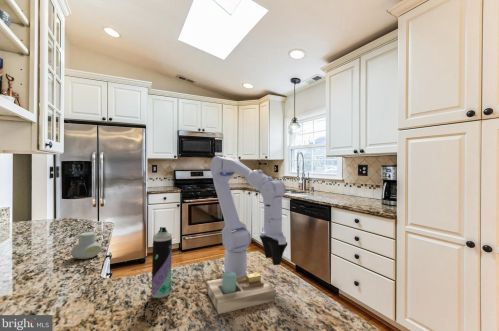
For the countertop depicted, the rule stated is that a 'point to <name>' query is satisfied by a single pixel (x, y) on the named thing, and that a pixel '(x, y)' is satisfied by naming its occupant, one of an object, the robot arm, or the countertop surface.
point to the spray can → (161, 263)
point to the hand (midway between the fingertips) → (272, 260)
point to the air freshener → (86, 246)
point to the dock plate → (240, 294)
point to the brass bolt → (253, 278)
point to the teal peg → (228, 283)
